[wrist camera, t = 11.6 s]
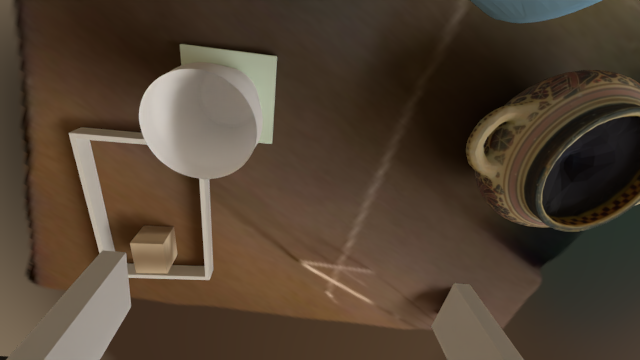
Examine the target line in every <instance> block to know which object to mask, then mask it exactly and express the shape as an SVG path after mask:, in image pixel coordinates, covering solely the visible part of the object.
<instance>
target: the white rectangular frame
mask: <svg viewBox="0 0 640 360" xmlns="http://www.w3.org/2000/svg"><path fill="white" fill-rule="evenodd" d="M69 137H70V141H71V145H72V149H73V153H74V156H75V160H76V164H77V168H78V172H79V176H80V180H81V184H82V187H83V191H84V195H85V199H86V203H87V207H88V211H89V215H90V218H91V222H92V226H93V230H94V234H95V238H96V242H97V246H98V250H99V253H101V252H102V250H104V251H115V249H114V245H113V240H112V236H111V232H110V227H109V223H108V218H107V214H106V210H105V205H104V201H103V196H102V192H101V188H100V183H99V179H98V174H97V170H96V166H95V161H94V157H93V152H92V148H91V144H90V140H98V141H110V142H122V143H134V144H146V145H147V143H146V141H145V139H144V137H143V134H142V133H141V132H129V131H118V130H107V129H96V128H85V127H81V128H78V129H76V130H74V131H72V132H69ZM199 183H200V199H201V215H202V232H203V248H204V265H205V266H188V265H172V266H171V268H170V270H169V272H168V273H167V274H164V273H136V270H135V265H134V264H131V263H127V269H128V278H158V279H192V280H210V278H211V275H212V272H213V253H212V230H211V208H210V185H209V179H199Z"/></svg>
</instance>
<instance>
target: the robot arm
mask: <svg viewBox="0 0 640 360" xmlns="http://www.w3.org/2000/svg"><path fill="white" fill-rule="evenodd" d="M470 1H471V2H473V3H474V4H475V5H476V6H477V7H478V8H480V9H481V10H482V11H483V12H484V13H486V14H487V15H488V16H490V17H492V18H494V19H497V20H503V21H507V22H511V23H530V22H539V21H544V20H549V19H553V18H557V17H560V16H564V15H567V14H570V13H573V12H575V11H578V10H581V9H583V8H586V7H588V6H591V5H593V4H595V3H598V2H600V1H602V0H470ZM130 307H131V301H130V290H129V280H128V269H127V259H126V252H115V251H104V250H102V252H101V253H100V254H99V255H98V256H97V257H96V258H95V259H94V261H93V262H92V263H91V264H90V265H89V266H88V267H87V269H86V270H85V271H84V272H83V273H82V274H81V275H80V276H79V278H78V279H77V280H76V281H75V282H74V283H73V284H72V286H71V287H70V288H69V289H68V290H67V291H66V292H65V293H64V295H63V296H62V297H61V298H60V299H59V301H57V303H56V304H55V305H54V306H53V307H52V308H51V310H50V311H49V312H48V313H47V314H46V315H45V316H44V317H43V318H42V320H41V321H40V322H39V323H38V324H37V325H36V326H35V328H34V329H33V330H32V331H31V332H30V333H29V334H28V336H27V337H26V338H25V339H24V340H23V341H22V342H21V344H20V345H19V346H18V347H17V348H16V349H15V350H14V351H13V353H12V354H11V355H10V356H9V357H3V356H0V360H100V358H101V357H102V355H103V353H104V352H105V350H106V348H107V347H108V345H109V343H110V341H111V340H112V338H113V336H114V335H115V333H116V331H117V329H118V328H119V326H120V325H121V323H122V321H123V319H124V318H125V316H126V314H127V313H128V311H129V309H130ZM431 327H432V329H433V331H434V333H435V335H436V337H437V339H438V341H439V343H440V345H441V347H442V350H443V352H444V354H445V356H446V358H447V360H524V359H523V358H522V357H521V355H520V354H519V352H518V351H517V350H516V348H515V347H514V345H513V344H512V343H511V341H510V340H509V339H508V337H507V336H506V334H505V333H504V332H503V330H502V329H501V327H500V326H499V325H498V323H497V322H496V320H495V319H494V318H493V316H492V315H491V314H490V312H489V311H488V309H487V308H486V307H485V305H484V304H483V302H482V301H481V300H480V298H479V297H478V295H477V294H476V293H475V291H474V290H473V288H472V287H471V286H470V285H468V284H457V283H454V284H453V286H452V288H451V290H450V292H449V294H448V296H447V298H446V299H445V301H444V303H443V305H442V307H441V309H440V311H439V313H438V315H437V317H436V318H435V320H434V322H433V324H432V326H431Z"/></svg>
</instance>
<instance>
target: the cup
mask: <svg viewBox="0 0 640 360" xmlns="http://www.w3.org/2000/svg"><path fill="white" fill-rule="evenodd" d="M139 123H140V128H141V131H142V134H143V137H144V139H145V141H146V143H147V145H148V146H149V148H150V149H151V151H152V152H153V153H154V154H155V156H156V157H157V158H158V159H159V160H160V161H161V162H163V163H164V164H165V165H167V166H168V167H169V168H171V169H173V170H174V171H176V172H178V173H181V174H183V175H186V176H189V177H193V178H199V179H214V178H220V177H224V176H227V175H229V174H231V173H233V172H235V171H237V170H238V169H239V168H241V167H242V166H243V165H244V164H245V163H246V162H247V160H248V159H249V158H250V156H251V154H252V152H253V150H254V148H255V147H256V145H257V143H258V141H259V139H260V136H261V132H262V125H263V118H262V110H261V105H260V100H259V95H258V91H257V89H256V86H255V85H254V83H253V81H252V80H251V79H250V78H249V77H248V76H247V75H246V74H245V73H243V72H241V71H240V70H237V69H235V68H231V67H227V66H222V65H218V64H213V63H206V62H195V63H188V64H184V65H181V66H179V67H177V68H175V69H173V70H172V71H170V72H168V73H166V74H164V75H162V76H160V77H159V78H157V79H156V80H155V81H154V82H153V83H152V84H151V85H150V86H149V87H148V89H147V90H146V92H145V93H144V95H143V98H142V100H141V104H140V109H139Z"/></svg>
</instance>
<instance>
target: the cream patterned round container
mask: <svg viewBox="0 0 640 360" xmlns="http://www.w3.org/2000/svg"><path fill="white" fill-rule="evenodd" d="M466 154H467V160H468V163H469V165H470V166H471V167H472V168H473V169H474V170H475V178H476V181H477V185H478V188H479V190H480V192H481V194H482V196H483V198H484V199H485V201H486V202H487V204H488V205H489V206H490V207H491V208H492V209H493V210H494V211H495V212H497V213H498V214H499V215H501V216H502V217H504V218H506V219H508V220H510V221H512V222H515V223H518V224H522V225H526V226H533V227H551V228H554V229H556V230H561V231H569V232H578V231H583V230H588V229H591V228H594V227H597V226H600V225H603V224H606V223H608V222H609V221H611V220H613V219H614V218H617V217H619V216H620V215H622V214H623V213H625V212H626V211H628V210H629V209H631V208H632V207H633V206H635V205H637V204H640V84H639V83H637V82H636V81H635V80H633V79H631V78H629V77H626V76H623V75H621V74H618V73H614V72H609V71H600V70H582V71H575V72H568V73H564V74H560V75H557V76H553V77H551V78H548V79H545V80H543V81H541V82H539V83H537V84H535V85H533V86H531V87H529V88H527V89H526V90H524V91H523V92H521V93H520V94H518V95H517V96H515V97H514V98H512V99H511V100H510V101H509V102H508V103H507V104H506V105H505V106H503V107H500V108H498V109H496V110H494V111H492V112H491V113H489V114H488V115H486V116H485V117H484V118H483V119H482V120H481V121H480V122H479V123H478V124H477V125H476V127H475V128H474V130H473V131H472V133H471V135H470V137H469V138H468V141H467V145H466Z"/></svg>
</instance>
